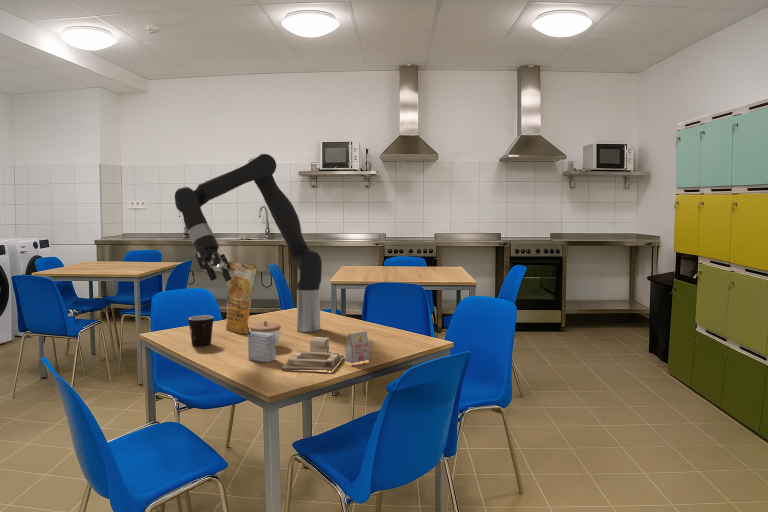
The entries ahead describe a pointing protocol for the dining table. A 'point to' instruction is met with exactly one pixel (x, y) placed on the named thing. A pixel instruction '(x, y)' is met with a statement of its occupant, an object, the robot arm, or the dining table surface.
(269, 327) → the lidded jar
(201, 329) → the coffee mug
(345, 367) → the dining table surface
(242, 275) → the pancake mix bag
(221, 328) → the dining table surface
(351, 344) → the white paper bag
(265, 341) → the medicine box
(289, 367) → the socket plate
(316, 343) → the maple block
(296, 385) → the dining table surface
